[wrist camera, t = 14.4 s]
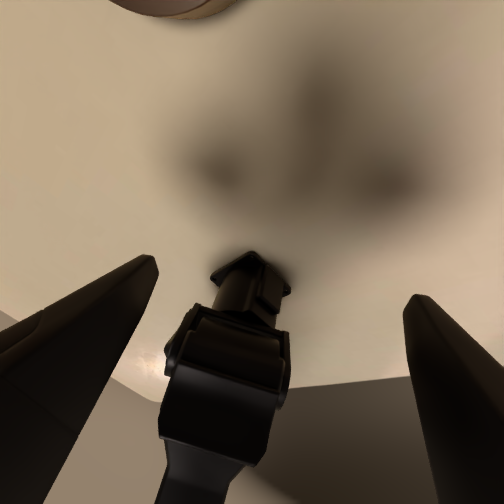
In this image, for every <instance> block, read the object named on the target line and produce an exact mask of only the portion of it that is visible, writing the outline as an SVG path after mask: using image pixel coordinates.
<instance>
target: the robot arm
mask: <svg viewBox="0 0 504 504" xmlns="http://www.w3.org/2000/svg"><path fill="white" fill-rule="evenodd" d="M250 256H252V257H253V258H252V257H250ZM158 276H159V271H158V268H157V264H156V261H155V258H154V257H153V256H151V255H144V254H143V255H140V256H138V257H136V258H135V259H133V260H131V261H129V262H127V263H125V264H124V265H122V266H120V267H118V268H116V269H115V270H113V271H111V272H109V273H107V274H106V275H104V276H102V277H100V278H98V279H97V280H95V281H93V282H91V283H89V284H87V285H86V286H84V287H82V288H80V289H78V290H77V291H75V292H73V293H71V294H69V295H68V296H66V297H64V298H62V299H60V300H59V301H57V302H55V303H53V304H51V305H49V306H48V307H46V308H44V310H40V311H39V312H37V313H35V314H33V315H31V316H29V317H28V318H26V319H24V320H22V321H20V322H18V323H16V324H15V325H13V326H11V327H9V328H7V329H5V330H3V331H1V332H0V504H43V502H44V500H45V498H46V497H47V494H48V493H49V491H50V489H51V487H52V485H53V483H54V481H55V480H56V478H57V476H58V474H59V472H60V470H61V468H62V466H63V465H64V463H65V461H66V459H67V457H68V455H69V453H70V451H71V450H72V448H73V446H74V444H75V442H76V440H77V438H78V435H79V434H80V432H81V430H82V429H83V427H84V425H85V423H86V421H87V419H88V417H89V415H90V414H91V412H92V410H93V408H94V406H95V404H96V402H97V400H98V398H99V396H100V394H101V393H102V391H103V389H104V387H105V385H106V383H107V382H108V380H109V378H110V376H111V374H112V372H113V370H114V368H115V367H116V365H117V363H118V361H119V359H120V357H121V355H122V353H123V351H124V350H125V348H126V346H127V344H128V342H129V340H130V338H131V336H132V335H133V333H134V331H135V329H136V327H137V325H138V323H139V321H140V320H141V318H142V316H143V314H144V311H145V309H146V307H147V304H148V302H149V299H150V297H151V294H152V292H153V289H154V287H155V284H156V282H157V279H158ZM210 280H211V281H212V282H213V283H215V284H216V285H217V286H218V287H219V290H218V293H217V296H216V298H215V301H214V303H213V306H212V308H208V307H204V306H201V304H198V303H195V305H194V306H193V308H192V309H190V310H189V312H187V313H186V315H185V317H184V319H183V321H182V323H181V325H180V327H179V328H178V330H177V331H176V332H175V334H174V335H173V336H172V337H171V339H170V340H169V341H168V342H167V344H166V345H165V348H164V353H165V355H166V358H167V359H166V366H165V371H164V375H165V376H169V377H171V378H170V381H169V383H168V386H167V389H166V392H165V395H164V398H163V401H162V404H161V408H160V414H159V417H158V432H159V438H160V439H163V440H164V443H165V450H166V456H167V467H166V470H165V473H164V476H163V479H162V482H161V485H160V488H159V491H158V494H157V497H156V500H155V503H154V504H224V502H225V498H226V495H227V491H228V487H229V484H230V482H231V481H232V480H233V479H234V478H235V477H236V476H237V475H238V473H239V472H240V471H241V470H242V469H243V468H244V467H245V466H246V465H247V466H250V467H255V466H256V465H257V464H258V462H259V461H260V460H261V458H262V457H263V455H264V454H265V452H266V448H267V443H268V438H269V432H270V428H271V425H272V421H273V417H274V413H275V410H278V411H279V410H280V409H281V407H282V406H283V404H284V401H285V398H286V395H287V392H288V388H289V382H290V375H291V360H290V340H289V332H287V331H280V330H277V329H275V324H276V317H277V314H279V313H280V306H281V299H282V297H285V296H287V295H289V294H290V293H291V288H290V287H289V286H288V285H287V284H286V283H285V282H284V280H283V279H282V278H281V277H280V276H279V275H278V274H277V273H276V272H275V271H274V270H273V269H272V268H271V267H270V266H268V265H267V264H266V263H265V262H264V261H263V260H262V259H261V258H260V257H259V256H258V255H257V254H256V253H255V252H248V253H247V254H245V255H243V256H241V257H240V258H238V259H236V260H235V261H233V262H231V263H230V264H228V265H226V266H225V267H223V268H221V269H219V270H218V271H216V272H214V273H213V274H212V275H211V277H210ZM285 290H287V291H285ZM403 324H404V335H405V345H406V355H407V362H408V367H409V372H410V376H411V381H412V385H413V390H414V394H415V398H416V403H417V408H418V412H419V417H420V422H421V426H422V431H423V435H424V440H425V444H426V449H427V453H428V458H429V462H430V467H431V471H432V475H433V480H434V485H435V490H436V494H437V499H438V503H439V504H504V367H503V366H502V365H501V364H500V363H498V362H497V361H496V360H495V359H494V358H493V357H492V356H491V355H490V354H489V353H488V352H487V351H486V350H485V349H484V348H483V347H482V346H481V345H480V344H479V343H478V342H477V341H475V340H474V339H473V338H472V337H471V336H470V335H469V334H468V333H467V332H466V331H465V330H464V329H463V328H462V327H461V326H460V325H459V324H458V323H457V322H456V321H455V320H454V319H452V318H451V317H450V316H449V315H448V314H447V313H446V312H445V311H444V310H443V309H442V308H441V307H440V306H439V305H438V304H437V303H436V302H435V301H434V300H433V299H432V298H430V297H429V296H427V295H420V294H414V295H413V296H412V297H411V298H410V300H409V302H408V303H407V305H406V307H405V308H404V311H403Z"/></svg>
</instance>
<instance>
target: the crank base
mask: <svg viewBox="0 0 504 504" xmlns="http://www.w3.org/2000/svg"><path fill="white" fill-rule="evenodd" d="M109 1H111V2H113V3H115V4H117V5H119V6H121V7H123V8H125V9H127V10H129V11H132V12H135V13H138V14H142V15H147V16H154V17H163V18H175V19H198V18H203V17H207V16H210V15H213V14H215V13H217V12H220V11H222V10H224V9H225V8H227V7H228V6H230V5H231V4H233V3H234V2H235V1H237V0H109Z"/></svg>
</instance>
